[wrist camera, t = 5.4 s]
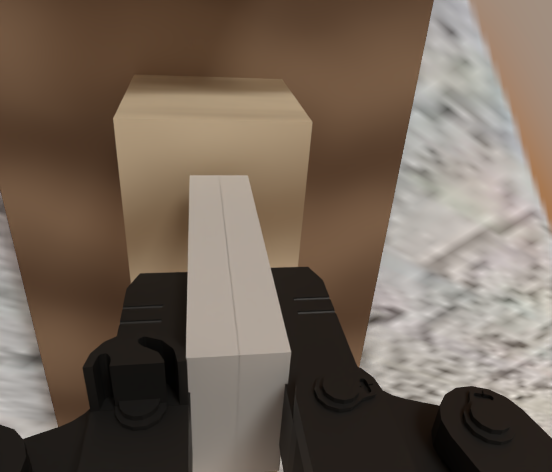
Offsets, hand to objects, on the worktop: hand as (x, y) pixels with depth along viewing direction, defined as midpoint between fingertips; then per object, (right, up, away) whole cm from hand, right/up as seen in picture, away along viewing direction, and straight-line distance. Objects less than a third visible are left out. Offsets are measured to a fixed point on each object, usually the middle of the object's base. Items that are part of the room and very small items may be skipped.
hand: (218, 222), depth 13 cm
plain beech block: (-1, +3, +5) cm, 6 cm away
